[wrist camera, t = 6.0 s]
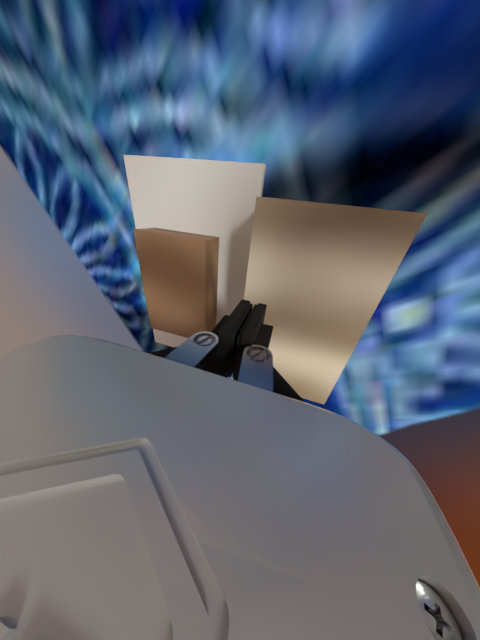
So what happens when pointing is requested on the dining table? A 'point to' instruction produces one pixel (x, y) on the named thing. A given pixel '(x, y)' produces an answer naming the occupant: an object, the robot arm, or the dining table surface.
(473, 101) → the dining table surface
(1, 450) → the robot arm
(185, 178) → the off-white mat
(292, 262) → the birch stand
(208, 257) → the walnut tile
